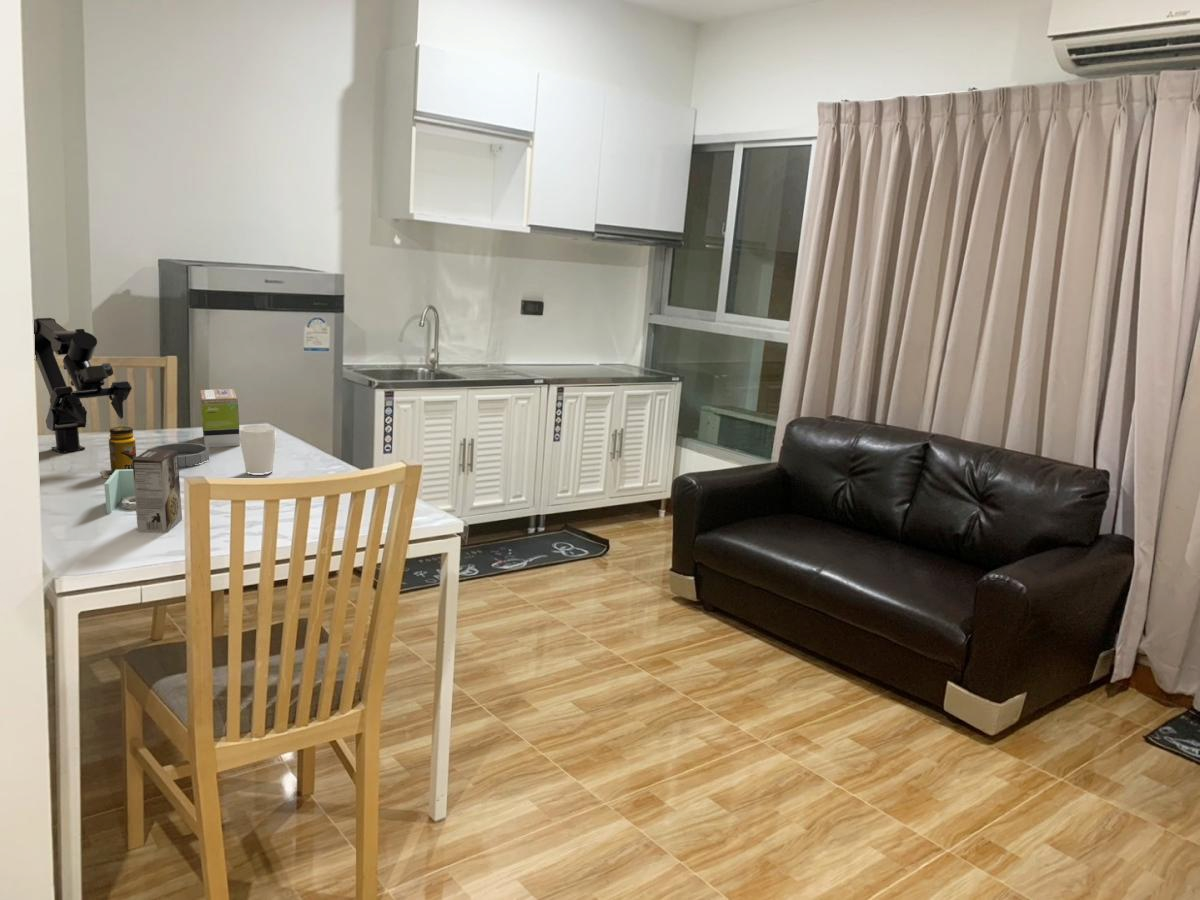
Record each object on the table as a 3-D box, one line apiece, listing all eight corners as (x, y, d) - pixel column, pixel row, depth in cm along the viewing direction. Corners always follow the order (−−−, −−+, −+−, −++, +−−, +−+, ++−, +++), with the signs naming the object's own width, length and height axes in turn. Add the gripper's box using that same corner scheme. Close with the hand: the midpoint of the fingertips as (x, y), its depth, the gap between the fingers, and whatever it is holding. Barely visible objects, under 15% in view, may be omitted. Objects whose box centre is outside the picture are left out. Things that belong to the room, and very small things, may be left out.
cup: (284, 471, 246) (283, 427, 243) (262, 478, 238) (260, 433, 235) (257, 466, 249) (255, 423, 246) (233, 474, 241) (231, 429, 238)
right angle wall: (106, 515, 205) (104, 483, 204) (118, 500, 217) (115, 469, 215) (165, 513, 209) (163, 482, 207) (173, 498, 220) (171, 468, 218)
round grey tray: (136, 459, 250) (135, 449, 249) (191, 450, 262) (190, 440, 261) (165, 470, 241) (164, 459, 240) (220, 461, 253) (220, 450, 252)
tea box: (202, 436, 279) (199, 388, 275) (237, 435, 283) (235, 388, 280) (203, 448, 266) (201, 398, 262) (240, 446, 270) (238, 397, 266)
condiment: (140, 475, 236) (137, 430, 233) (103, 479, 231) (99, 432, 228) (136, 468, 242) (133, 424, 239) (100, 471, 237) (96, 426, 234)
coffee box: (153, 519, 203) (148, 448, 199) (183, 519, 204) (178, 449, 200) (136, 532, 194) (130, 459, 191) (167, 533, 195) (162, 459, 191)
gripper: (50, 356, 229) (73, 406, 226) (125, 350, 244) (149, 397, 240) (40, 383, 236) (62, 431, 232) (114, 376, 250) (136, 422, 246)
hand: (103, 420), depth 237 cm, fingers open, 9 cm apart
